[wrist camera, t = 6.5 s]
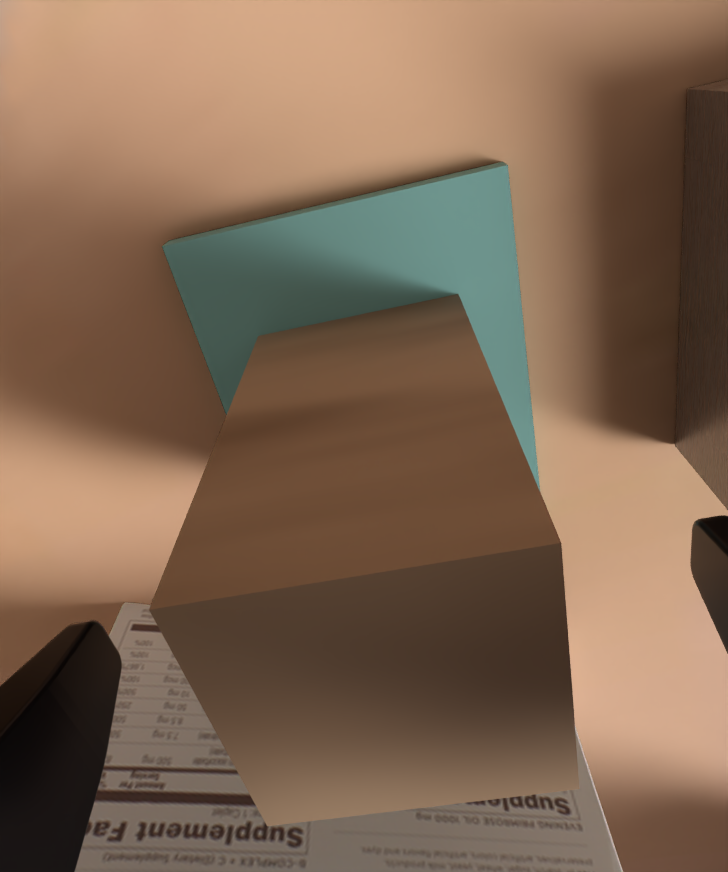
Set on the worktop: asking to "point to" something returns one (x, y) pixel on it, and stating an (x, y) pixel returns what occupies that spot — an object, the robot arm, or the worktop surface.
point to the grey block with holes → (705, 290)
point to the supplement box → (305, 841)
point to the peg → (374, 578)
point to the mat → (364, 274)
